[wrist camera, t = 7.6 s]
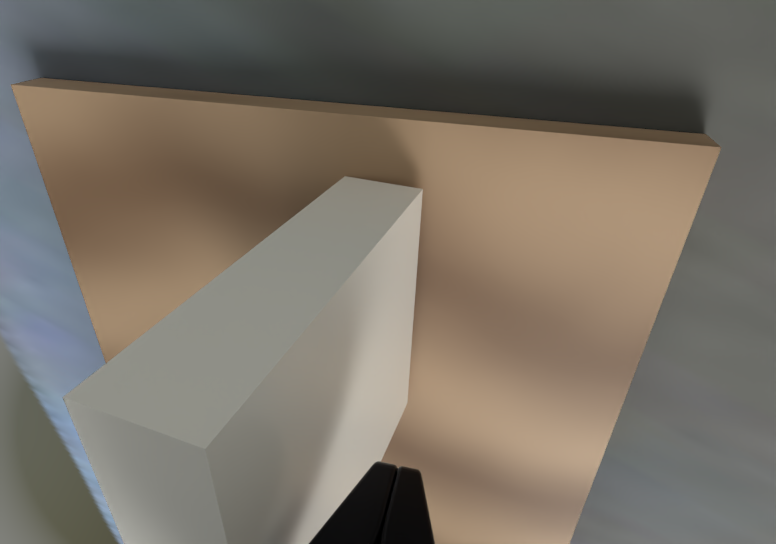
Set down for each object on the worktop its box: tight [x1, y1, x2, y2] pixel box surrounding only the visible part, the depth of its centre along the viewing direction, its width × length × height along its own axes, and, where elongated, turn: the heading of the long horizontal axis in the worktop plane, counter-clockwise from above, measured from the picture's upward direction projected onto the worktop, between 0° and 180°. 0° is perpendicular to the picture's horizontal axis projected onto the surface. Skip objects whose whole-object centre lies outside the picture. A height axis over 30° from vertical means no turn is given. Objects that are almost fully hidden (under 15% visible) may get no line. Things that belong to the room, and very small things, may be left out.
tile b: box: [63, 176, 423, 544], centre depth 11 cm, size 7×2×8 cm, turn 179°
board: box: [11, 78, 721, 544], centre depth 18 cm, size 22×17×1 cm
